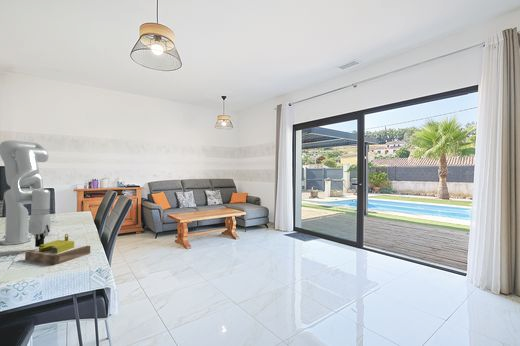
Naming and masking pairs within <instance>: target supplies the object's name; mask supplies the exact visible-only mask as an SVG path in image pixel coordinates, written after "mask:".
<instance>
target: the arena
mask: <svg viewBox="0 0 520 346" xmlns="http://www.w3.org/2000/svg"><path fill="white" fill-rule="evenodd" d="M24 253H25V254H24V255H25V256H24V260H25V261H29V262H34V263H41V264H45V265H46V264H47V265H51V266H52V265H53V266H56V265H58V264H61V263H66V262H68V261H71V260H75V259H77V258H81V257H84V256H87V255H90V254H91V245H84V246H81V247H78V248H74V249H73V248H72V249H69V250H66V251H63V252H60V253H50V252H45V251H41V252H39V251H35V250H26V251H25V252H24Z"/></svg>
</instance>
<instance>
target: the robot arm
mask: <svg viewBox="0 0 520 346" xmlns="http://www.w3.org/2000/svg"><path fill="white" fill-rule="evenodd" d="M0 158H1V160H2V162H3V164H4V173H5V179H6V180H5V181H6V184H7V185H8V186H9V187H10V189H8V190H6V191H5V192H4V196H3V197H4V203H5V231H4V234H5V235H3V236H2V238H4V239H3V240H2V241H0V243H1V245H3V246H9V245H11V246H13V245H20V244H25V243H29V242H30V241H32V238H31V237H29V235H28V234H31V235H33V236H34V240H35V243H34V244H35V245H34V247H36V248H39V245H42V244H45V238H46V237H48V236H49V234H50V233H51V216H50V213H51V191H50V190H49V189H45V188H44V184H43V177H42V175H41V173H40V168H39V164H38V163H45V162H48V160H49V153H48V151H47V149H45V147H44V146H42V145H40V144H39V143H36V142H31V141H21V140H4V141H1V142H0ZM21 187H22V188H21ZM27 187H28V188H27ZM29 187H30V188H29ZM30 204H31V206H30V208H31V210H30V213H31V214H30V216H29V210H28V209H27V207H25V206H24V205H30Z"/></svg>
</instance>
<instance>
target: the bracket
mask: <svg viewBox="0 0 520 346" xmlns="http://www.w3.org/2000/svg"><path fill="white" fill-rule="evenodd" d="M54 248H56V254H59V253H63V252H66V251H70V250H73V248H74V249H75V241H74V240H69V234H68V233H66V234H64V240H62V239H61V240H60V239H56V240H53V241H50V242H46V243H44V244H42V245H39V247H38V252H45V251H48V250H51V249H54Z"/></svg>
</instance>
